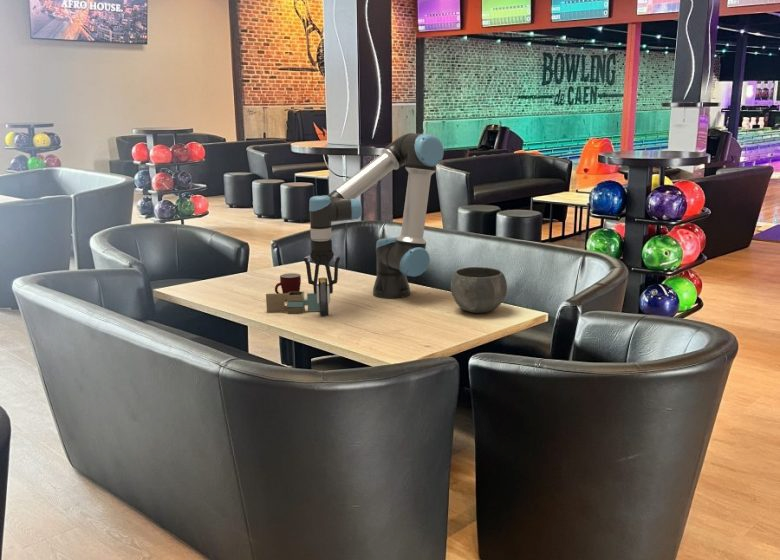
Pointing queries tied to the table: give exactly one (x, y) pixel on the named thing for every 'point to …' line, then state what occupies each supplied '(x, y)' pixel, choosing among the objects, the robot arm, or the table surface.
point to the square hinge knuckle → (277, 302)
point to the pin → (323, 297)
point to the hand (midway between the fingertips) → (323, 302)
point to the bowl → (478, 289)
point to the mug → (289, 283)
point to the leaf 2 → (306, 302)
